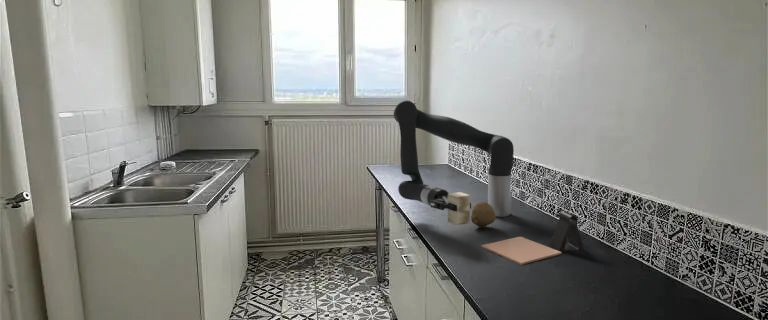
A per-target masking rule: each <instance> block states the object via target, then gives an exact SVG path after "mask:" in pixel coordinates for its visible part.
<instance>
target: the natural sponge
mask: <svg viewBox="0 0 768 320" xmlns="http://www.w3.org/2000/svg"><path fill="white" fill-rule="evenodd" d="M495 221H496V215H495V213H494V210H493V208H492V207H491V205H489V204H488V202H485V201H483V202H477V203H476V204H474V206H473V207H472V211H471V214H470V222H472V224H473V225H476V226H477V227H479V228H486V227H487V226H489V225H492V224H493V223H494V222H495Z"/></svg>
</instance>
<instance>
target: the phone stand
mask: <svg viewBox="0 0 768 320" xmlns="http://www.w3.org/2000/svg"><path fill="white" fill-rule="evenodd" d="M558 217H559V218H558V222H557V224H556V227H555V229H554V232H553V235H552V238H551V239H550V243H549V246H550V248H552V249H555V250H557V251H560V252H562V253H564V252H575V251H577V252H578V251H584V250H585V248H584V247H585V246H584V244H583V241H582V237H581V233H580V230H579V228H578V227H579V226H578V217H577V216H576V215H574V214H572V213H570V212H569V211H566V210H564V211H563V210H561V211H560V212H559V214H558ZM567 241H568V243H567Z"/></svg>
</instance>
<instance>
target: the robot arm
mask: <svg viewBox="0 0 768 320" xmlns="http://www.w3.org/2000/svg"><path fill="white" fill-rule="evenodd" d="M393 117H394V120H395V121H396V123H398V126H399V133H400V149H399V150H400V153H399V154H400V167H401V168H400V170H401V173H402V175H406V176H409V177H410V179H411V180H404V181H401V182H400V184H399V185H398V187H397V188H398V194H399V195H400V196H401V198H403V199H405V200H410V201H418V202H420V203H422V204H425V205H426V206H429V207H430V208H432V209H436V210H441V211H444V210H446V211H448V210H449V209H450V210H452V211H457V205H455V204H452V203H449V202H448V194H450V193H449V192H448V190H446V189H443V188H441V187H437V186H433V185H432V186H431V185H429V184H425V183H424V181H423V178H422V175H421V173H420V170H419V160H418V158H419V157H418V150H417V149H418V148H417V136H416V135H417V134H416V131H417V130H416V129H418V130H422V131H424V132H426V133H429V134H432V135H433V136H437V138H441V139H443V140H445V141H448V142H451V143H454V144H458V145H462V146H463V145H464V146H469V147H473V148H476V149H478V150H481V151H483V152H485V153H488V154H489V155H490V165H489V166H488V174H487V175H488V178H487V181H488V182H487V183H488V184H487V185H488V186H487V203H488V204H489V205H491V207H492V208H493V210H494V213H495V215H496V217H497V218H498V217H499V218H502V217H503V218H506V217H508V216H510V215H512V211H513V210H512V209H513V207H512V206H513V191H511V190H512V189H511V187H512V186H511V185H512V184H511V183H512V170H513V167H514V166H513V165H514V154H515V153H514V150H515V149H514V143H513V141H511V139H509V138H508V137H506V136H503V135H498V134H494V133H489V132H486V131H482V130H480V129H478V128H476V127H473V126H472V125H470V124H468V123H466V122H463V121H462V120H458V119H456V118H453V117H449V116H444V115H438V114H430V113H427V112H424V111H422V110H420V109H418V108H417V106H416V104H415V103H414V102H413V101H411V100H407V99H405V100H402V101H400V102H399V103H398V104H397V105H396V106H395V108H394V110H393ZM471 209H472V203H471V202H470V210H471Z"/></svg>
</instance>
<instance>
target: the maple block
mask: <svg viewBox="0 0 768 320" xmlns="http://www.w3.org/2000/svg"><path fill="white" fill-rule="evenodd" d="M470 199H471V195H470V194H469V193H464V192H461V191H457V192H452V193H449V194H448V202H449V203H452V204H455V205H457V211H452V210H450V209H449V210H447V222H448V223H450V224H453V225H455V226H457V227H458V226H462V225H466V224H470V223H471V209H470V203H471V200H470Z"/></svg>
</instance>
